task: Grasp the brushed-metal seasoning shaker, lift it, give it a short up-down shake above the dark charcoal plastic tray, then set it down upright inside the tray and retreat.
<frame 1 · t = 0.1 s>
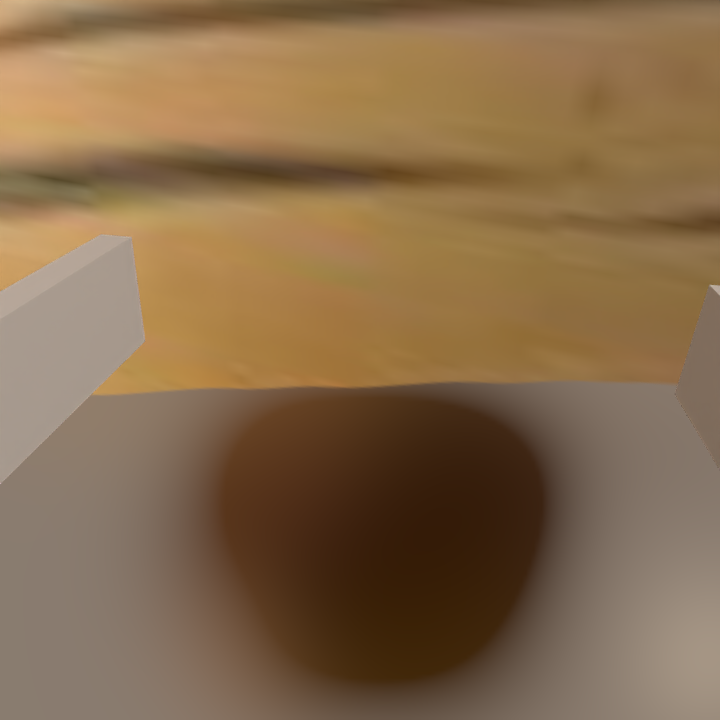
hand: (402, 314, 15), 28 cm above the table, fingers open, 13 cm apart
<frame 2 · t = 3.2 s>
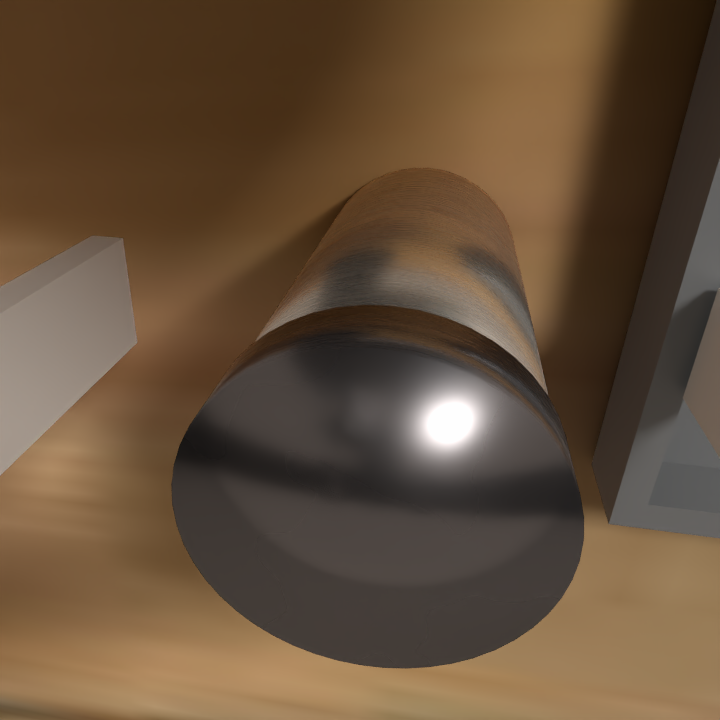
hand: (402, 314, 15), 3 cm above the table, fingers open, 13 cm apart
shaker: (419, 263, 17), on the table
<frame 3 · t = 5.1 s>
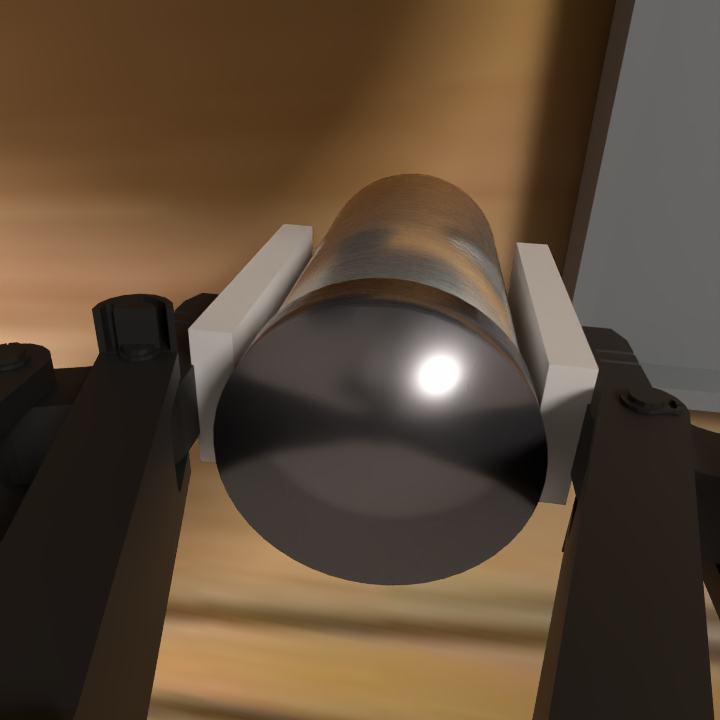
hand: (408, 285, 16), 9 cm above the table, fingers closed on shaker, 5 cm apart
shaker: (410, 259, 19), point 6 cm above the table, touching gripper
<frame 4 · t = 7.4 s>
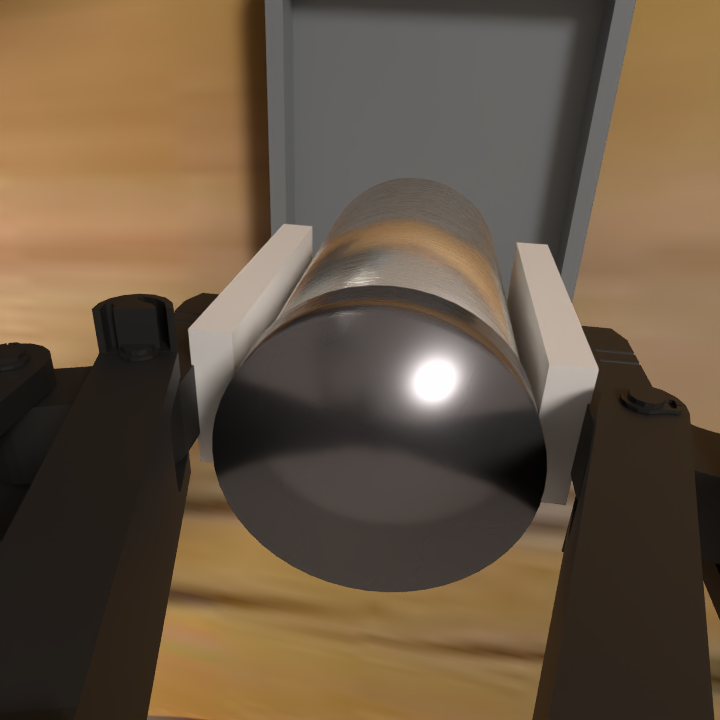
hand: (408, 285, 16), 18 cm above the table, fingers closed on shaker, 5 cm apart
tray: (431, 155, 32), on the table
shaker: (409, 263, 19), point 16 cm above the table, touching gripper
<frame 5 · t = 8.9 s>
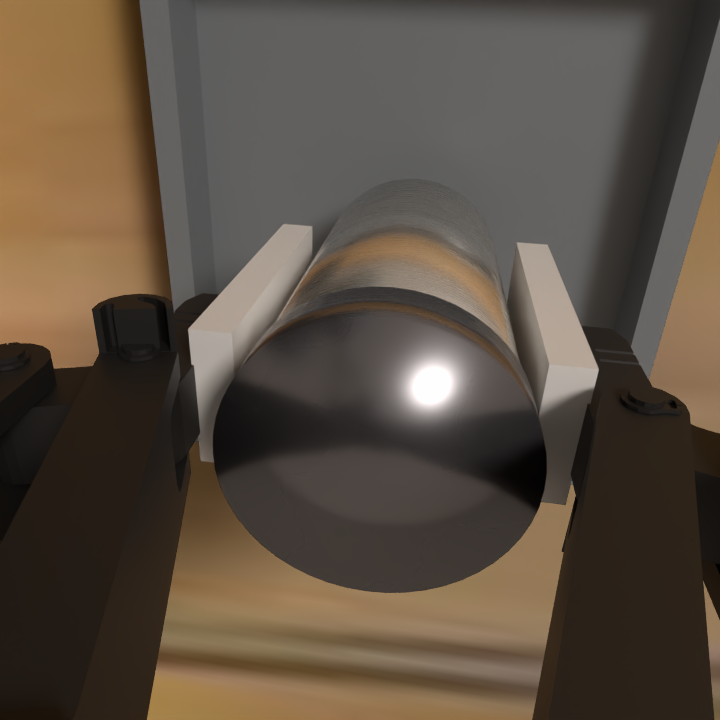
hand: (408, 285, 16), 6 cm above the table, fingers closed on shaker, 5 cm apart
tray: (417, 219, 21), on the table
shaker: (409, 264, 19), point 3 cm above the table, touching gripper
when the fingers open (2 cm above the table, at t = 9.8 s): shaker stays where it is, resting on tray.
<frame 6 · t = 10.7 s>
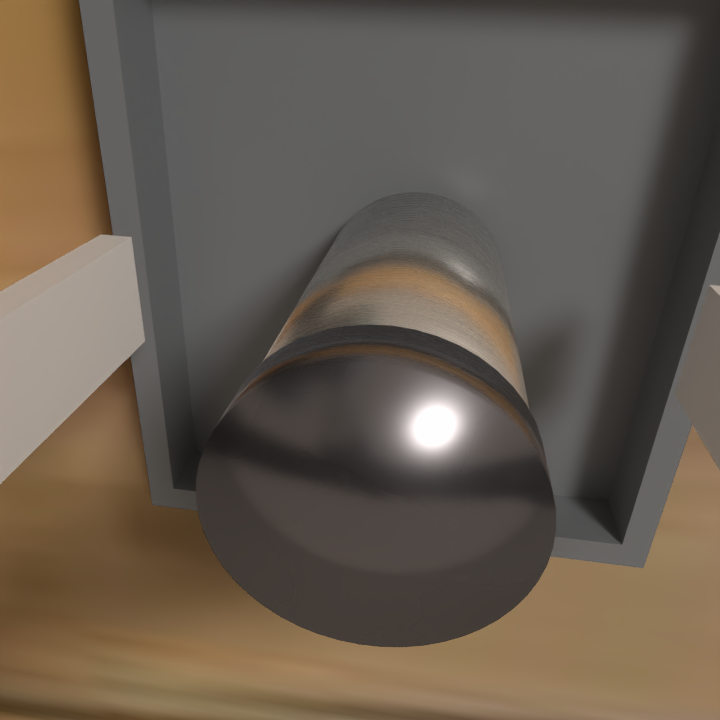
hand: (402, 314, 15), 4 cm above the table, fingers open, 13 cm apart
tray: (413, 257, 18), on the table
shaker: (413, 280, 18), point 1 cm above the table, touching tray
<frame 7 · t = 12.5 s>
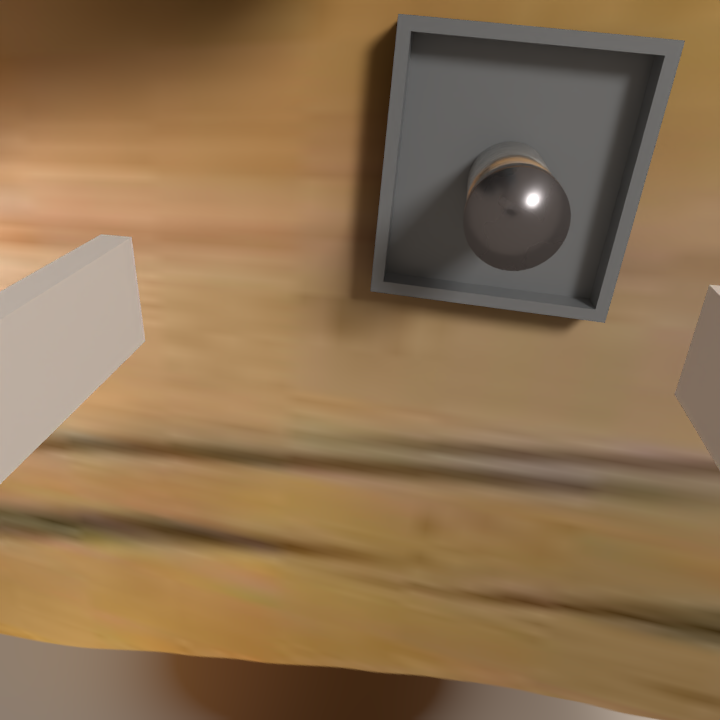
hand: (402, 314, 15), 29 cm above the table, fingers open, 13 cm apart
tray: (506, 173, 41), on the table
shaker: (507, 182, 40), point 1 cm above the table, touching tray
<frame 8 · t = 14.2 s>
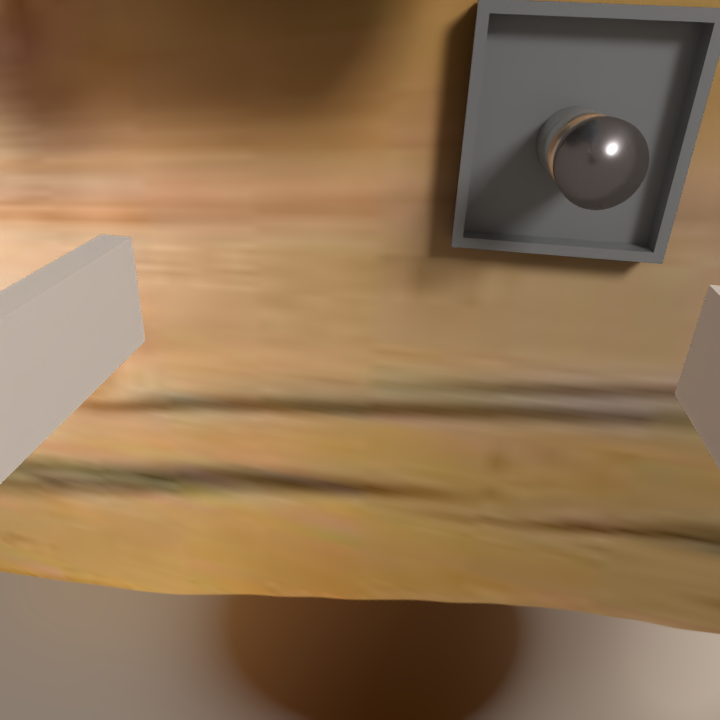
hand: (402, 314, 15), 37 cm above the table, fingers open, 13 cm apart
tray: (571, 135, 46), on the table
shaker: (572, 143, 46), point 1 cm above the table, touching tray
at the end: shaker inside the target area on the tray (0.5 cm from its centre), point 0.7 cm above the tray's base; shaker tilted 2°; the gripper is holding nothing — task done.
